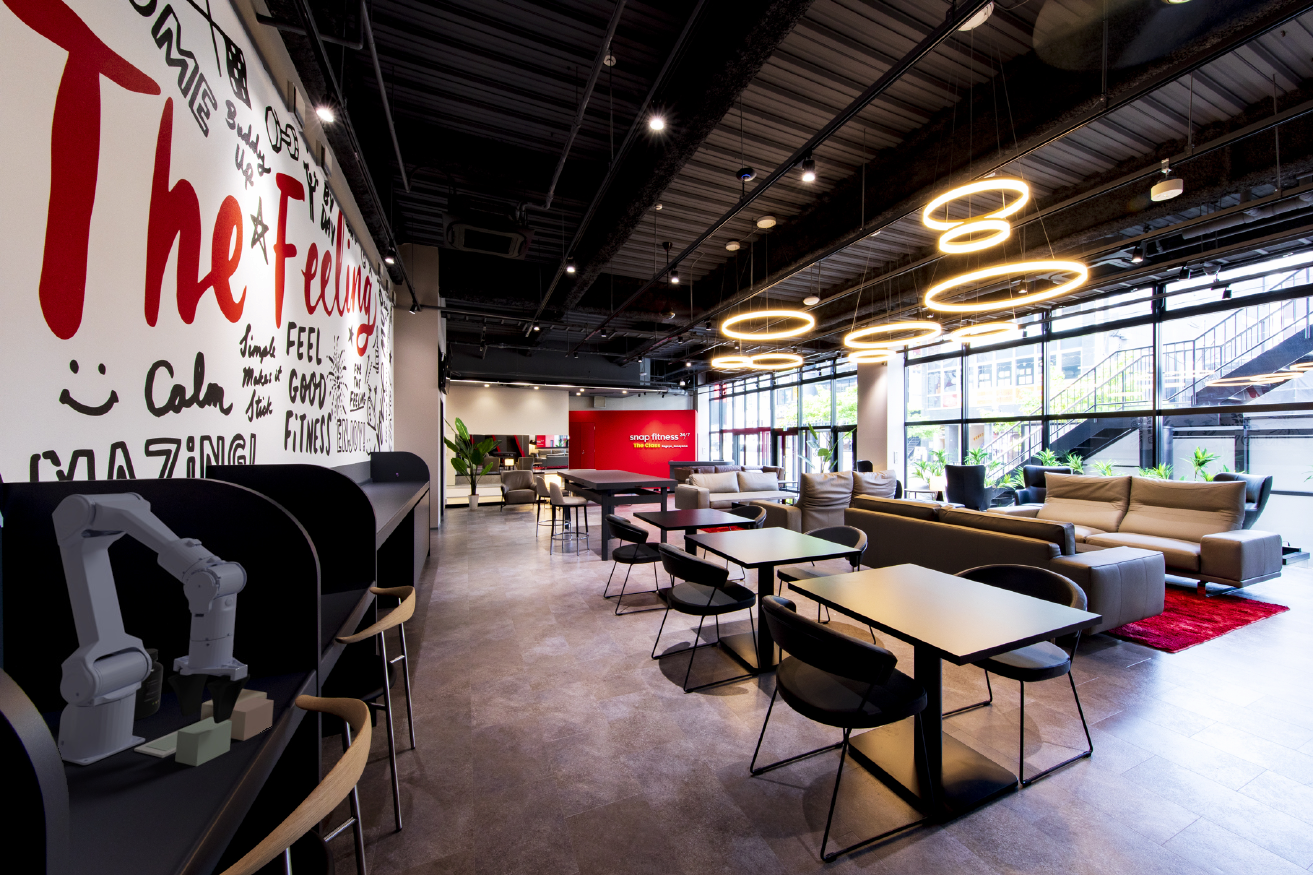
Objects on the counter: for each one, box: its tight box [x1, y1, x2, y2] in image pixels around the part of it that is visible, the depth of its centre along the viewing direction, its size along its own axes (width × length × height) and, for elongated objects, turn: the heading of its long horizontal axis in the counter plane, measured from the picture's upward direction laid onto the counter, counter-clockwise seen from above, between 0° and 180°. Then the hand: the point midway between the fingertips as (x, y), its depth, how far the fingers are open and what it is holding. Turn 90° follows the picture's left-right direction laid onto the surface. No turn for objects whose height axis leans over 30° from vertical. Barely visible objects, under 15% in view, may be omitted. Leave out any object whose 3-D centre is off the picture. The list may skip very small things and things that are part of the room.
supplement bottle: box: [133, 648, 164, 722], centre depth 99 cm, size 7×7×12 cm
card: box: [134, 730, 178, 759], centre depth 89 cm, size 7×7×1 cm
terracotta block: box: [228, 697, 275, 742], centre depth 94 cm, size 5×5×5 cm
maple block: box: [200, 688, 268, 721], centre depth 99 cm, size 7×7×4 cm
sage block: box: [174, 717, 232, 767], centre depth 86 cm, size 5×5×5 cm
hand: (206, 717), depth 86 cm, fingers open, 7 cm apart
